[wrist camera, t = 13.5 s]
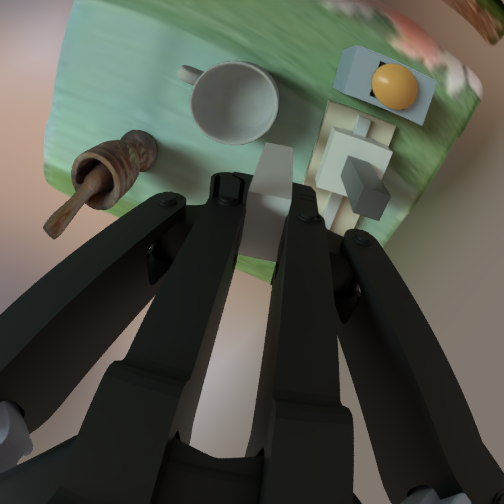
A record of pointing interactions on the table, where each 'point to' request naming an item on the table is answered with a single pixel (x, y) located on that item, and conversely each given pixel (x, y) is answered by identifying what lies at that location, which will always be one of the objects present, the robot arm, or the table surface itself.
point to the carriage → (355, 171)
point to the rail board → (337, 115)
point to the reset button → (394, 86)
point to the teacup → (232, 101)
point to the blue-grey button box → (360, 74)
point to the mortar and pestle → (104, 176)
